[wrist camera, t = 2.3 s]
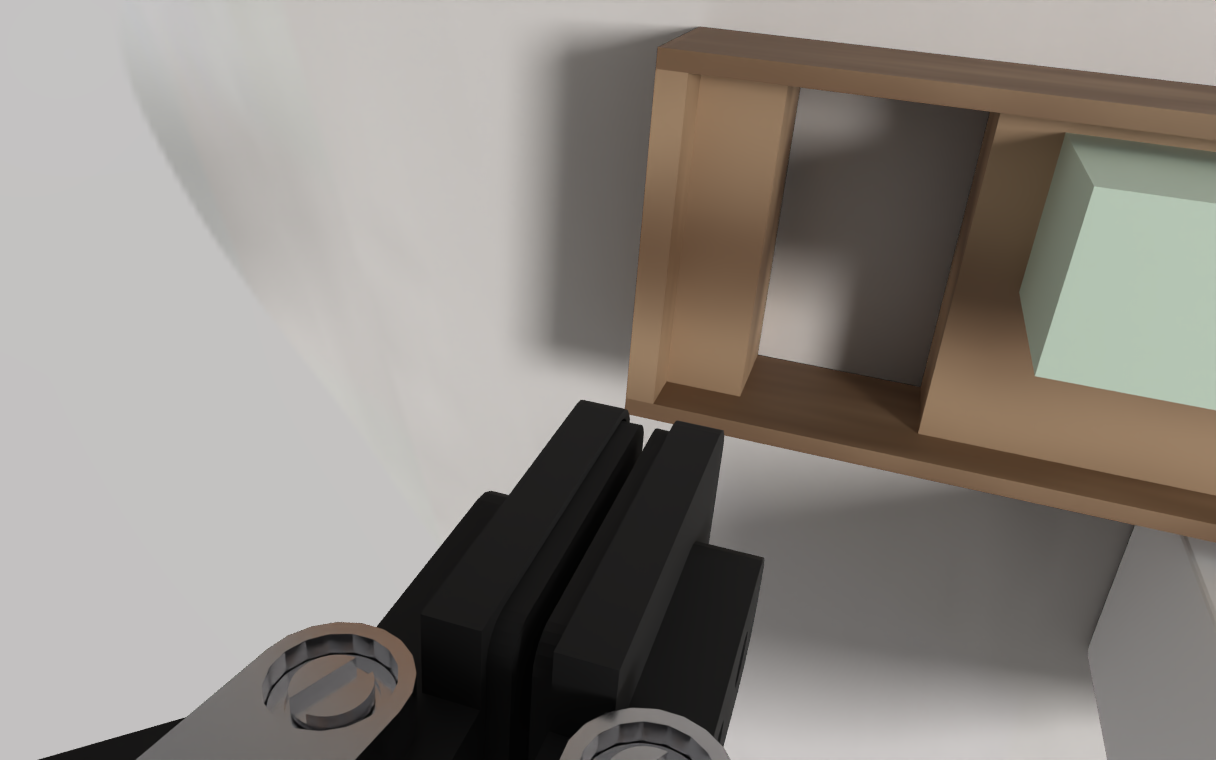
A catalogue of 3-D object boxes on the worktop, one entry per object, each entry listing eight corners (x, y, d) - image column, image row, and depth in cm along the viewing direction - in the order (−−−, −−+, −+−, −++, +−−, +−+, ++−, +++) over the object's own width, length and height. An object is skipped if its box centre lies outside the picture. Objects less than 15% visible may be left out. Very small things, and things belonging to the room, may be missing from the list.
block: (1065, 132, 22) (1094, 186, 18) (1258, 157, 21) (1336, 220, 17) (1019, 292, 24) (1034, 376, 20) (1193, 322, 23) (1250, 417, 19)
